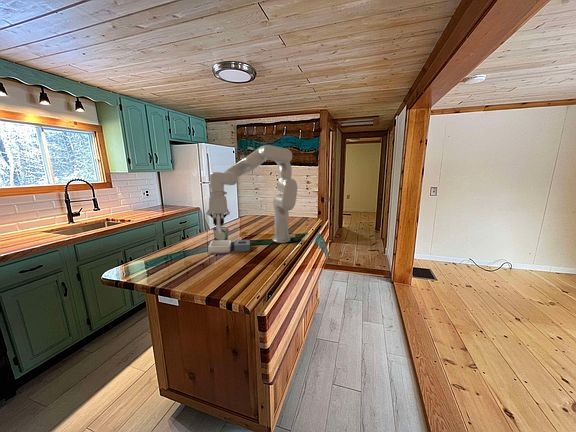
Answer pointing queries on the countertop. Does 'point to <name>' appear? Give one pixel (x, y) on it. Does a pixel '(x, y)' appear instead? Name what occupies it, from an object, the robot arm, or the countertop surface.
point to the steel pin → (218, 224)
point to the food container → (221, 236)
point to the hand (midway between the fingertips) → (218, 224)
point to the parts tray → (219, 246)
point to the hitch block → (242, 245)
